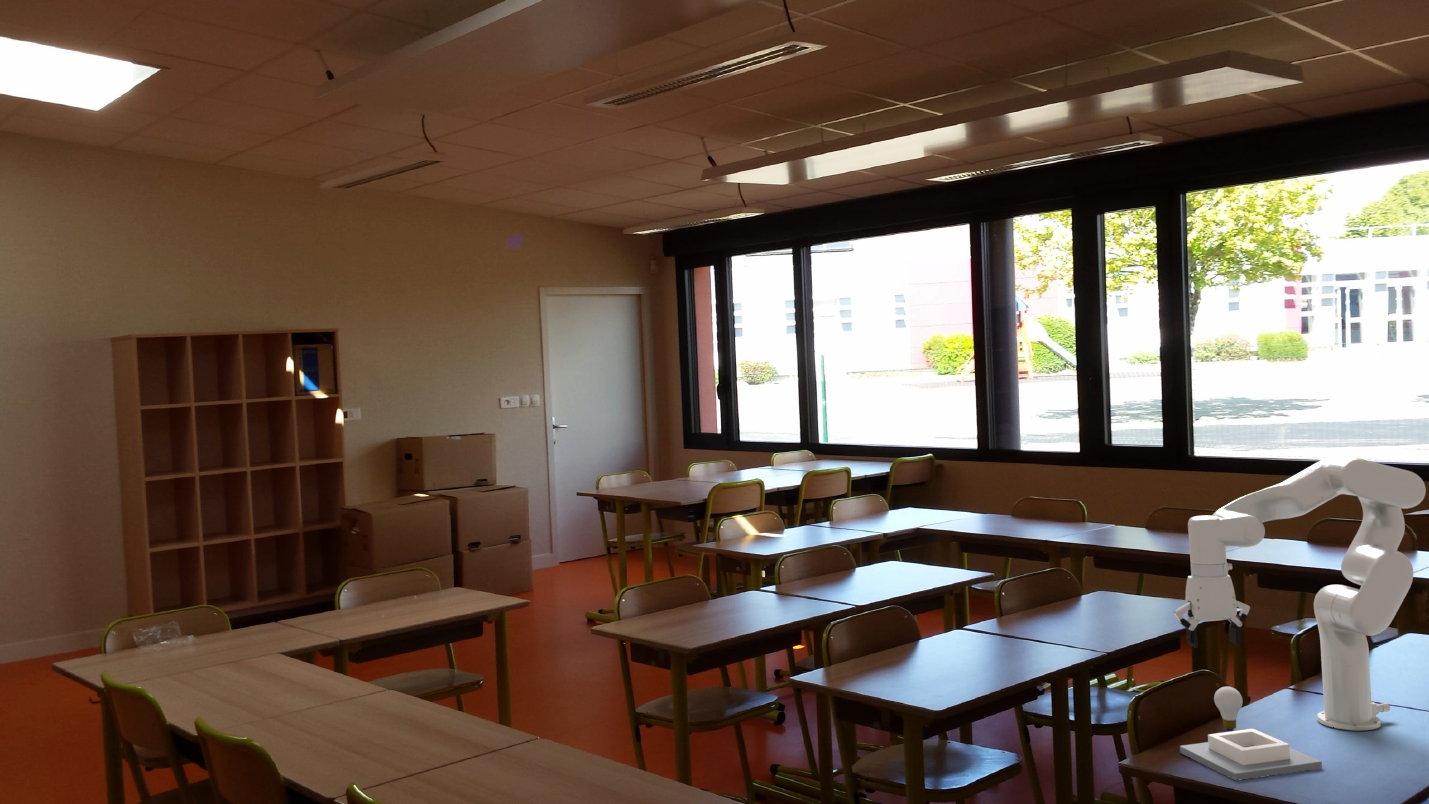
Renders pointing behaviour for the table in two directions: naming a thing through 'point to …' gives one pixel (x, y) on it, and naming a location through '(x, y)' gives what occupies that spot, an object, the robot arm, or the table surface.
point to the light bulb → (1228, 705)
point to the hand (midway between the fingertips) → (1214, 644)
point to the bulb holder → (1249, 755)
